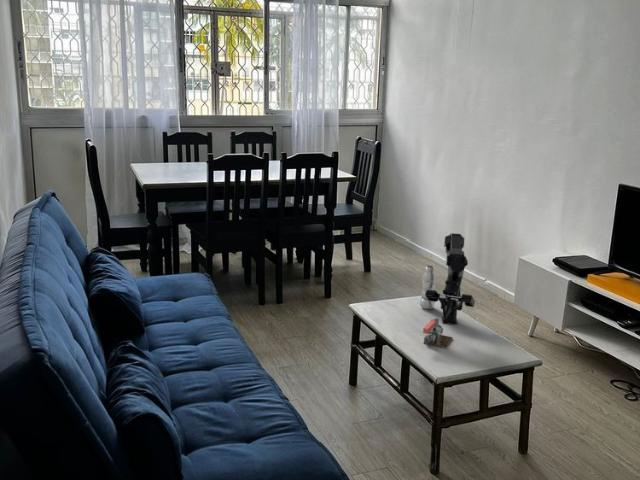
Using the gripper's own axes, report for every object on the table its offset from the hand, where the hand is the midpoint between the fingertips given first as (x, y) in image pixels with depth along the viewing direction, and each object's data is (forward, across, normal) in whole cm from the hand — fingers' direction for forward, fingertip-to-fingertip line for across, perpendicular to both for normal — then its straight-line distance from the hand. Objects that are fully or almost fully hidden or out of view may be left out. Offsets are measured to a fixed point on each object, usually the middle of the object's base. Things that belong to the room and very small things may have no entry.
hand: (444, 317), depth 242 cm
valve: (+6, +4, -11) cm, 14 cm away
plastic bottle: (-16, +21, -34) cm, 43 cm away
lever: (+4, +6, -3) cm, 8 cm away
